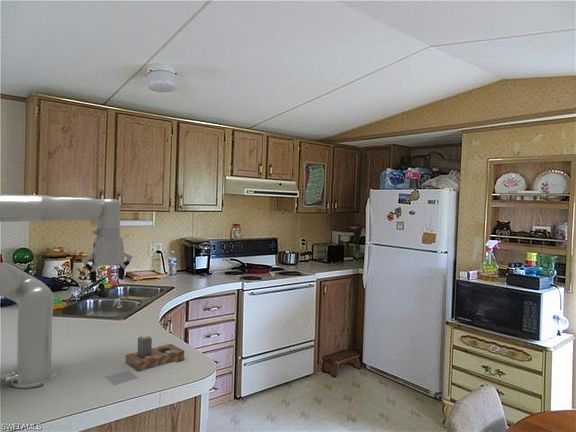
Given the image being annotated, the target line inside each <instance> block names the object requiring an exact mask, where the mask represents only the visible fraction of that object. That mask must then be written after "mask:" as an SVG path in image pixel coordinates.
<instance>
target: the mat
mask: <svg viewBox="0 0 576 432" xmlns="http://www.w3.org/2000/svg"><path fill="white" fill-rule="evenodd" d="M104 378H105V379H106V380H107V381H109V383H111V384H112V385H113V386H116V385H117V386H118V385H120V384H123V383H126V382H130V381H133V380H136V379H139V377H138V376H136V374H134V373H133V372H131V371H130V370H124V371H120V372H118V373H115V374H114V373H113V374H109V375H106V376H104Z"/></svg>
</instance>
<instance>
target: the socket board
mask: <svg viewBox="0 0 576 432" xmlns="http://www.w3.org/2000/svg"><path fill="white" fill-rule="evenodd" d="M182 361H185V350H184V349H181V348H180V347H178V346H176V345H174V344H173V343H168V344H164V345H161V346H160V345H159V346H156V347H152V350H151V355H150V356H146V357H145V358H144V359H141V358H139V357H138V351H135V352H132V353H128V354H125V361H124V362H125V364H127V365H128V366H129V367H131V368H132V369H134V370H135V371H136V372H141V371H142V372H143V371H146V370H148V369H152V368H155V367H158V366H163V365H167V364H170V363H174V362H175V363H178V362H182Z"/></svg>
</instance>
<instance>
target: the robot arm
mask: <svg viewBox="0 0 576 432" xmlns="http://www.w3.org/2000/svg"><path fill="white" fill-rule="evenodd" d="M93 220H96V228H95V229H94V230H92V234H93V235H95V236H94V238H93V239H94V240H93V243H92V244H93V245H92V250H91V251H92V252H91V254H88V255H87V256H85V257H83V258H82V259H81V262H82V264H83V265H84V267H85V268H86V269H87V270H88V271H89V281H90V283H93V284H96V283H97V271H96V270H97V268H98V267H106V266H118V267H119V268H118V271H117V273H118V275H117V278H118V279H119V280H122V281H123V280H124V277H125V276H126V271H125V269H127V266H129V264H130V262H131V260H132V258H133V255H131V254H128V253H126V252H125V248H124V246H125V245H124V240H123V239H124V238H123V236H120V235H121V231H120V230H121V202H120V200H119V199H117V198H100V199H96V198H93V197H67V196H66V197H65V196H64V197H63V196H51V195H43V194H42V195H41V194H4V193H3V194H0V223H10V222H12V223H13V222H18V223H19V222H53V221H55V222H56V221H60V222H61V221H63V222H64V221H65V222H67V221H69V222H71V221H93ZM125 258H126V259H125ZM90 260H91V264H90V263H89V261H90ZM0 297H4V298H7V299H8V300H9V301H13V302H15V303H17V306H18V312H17V313H18V314H17V315H18V316H17V330H16V331H17V339H16V340H17V345H16V346H17V352H16V353H17V354H16V363H17V364H16V367H14V370H11V371H10V372H8V373H1V374H0V382H2V381H5V383H8V382H10V385H11V386H12V387H13V388H17V389H31V388H36V387H40V386H43V385H44V384H46V383H48V382H50V381H52V380H54V379H55V378H56V377H57V375H58V374H57V371H56V370H55V369H52V366H53V365H52V363H53V361H52V358H53V357H52V355H53V353H52V351H53V315H54V307H55V306H54V304H55V298H54V297H55V296H54V293H53V292H52V290H51V288H50V287H48V285H46V283H44V282H43V281H41V280H40V279H37V278H36V277H34V276H33V275H31V274H29V273H28V272H25V271H23V270H21V269H20V268H18V267H16V266H14V265H12V264H11V263H7V262H0Z"/></svg>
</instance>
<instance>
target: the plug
mask: <svg viewBox="0 0 576 432" xmlns="http://www.w3.org/2000/svg"><path fill="white" fill-rule="evenodd" d="M152 342H153V338H152V337H151V336H150V335H149V334H147V333H145V334H142V335H140V336H138V337H137V352H138V357H139V358H141V359H144V358H145V357H146V356H150V355H151V350H152V348H153V347H152V345H153V343H152Z"/></svg>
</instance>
